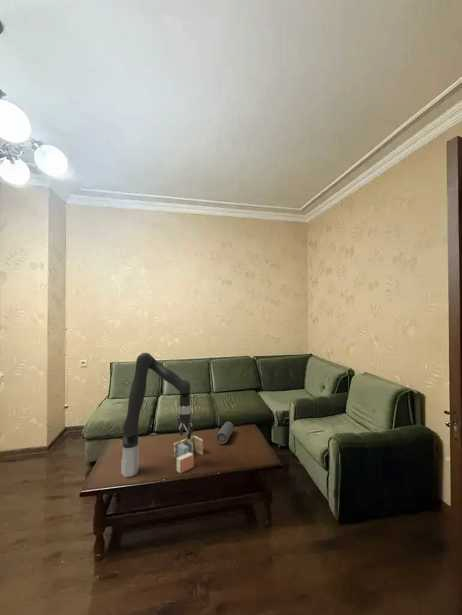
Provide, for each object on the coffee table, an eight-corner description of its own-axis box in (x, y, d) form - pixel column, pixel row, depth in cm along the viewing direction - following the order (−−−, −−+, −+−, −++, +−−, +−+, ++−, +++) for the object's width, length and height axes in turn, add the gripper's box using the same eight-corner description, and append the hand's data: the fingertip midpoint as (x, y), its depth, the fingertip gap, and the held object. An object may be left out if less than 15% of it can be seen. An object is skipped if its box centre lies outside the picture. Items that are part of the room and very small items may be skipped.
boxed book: (180, 473, 169) (180, 460, 169) (176, 470, 172) (176, 457, 172) (193, 467, 176) (193, 454, 176) (189, 464, 179) (189, 452, 179)
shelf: (182, 463, 180) (182, 448, 180) (173, 458, 187) (173, 443, 187) (203, 454, 192) (203, 439, 192) (194, 449, 199) (194, 435, 200)
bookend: (188, 458, 186) (188, 445, 186) (182, 455, 191) (182, 442, 191) (192, 456, 189) (192, 443, 189) (187, 453, 193) (187, 440, 194)
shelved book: (183, 461, 182) (183, 449, 182) (177, 457, 188) (177, 445, 188) (188, 459, 185) (188, 447, 185) (182, 455, 190) (182, 443, 191)
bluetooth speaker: (227, 446, 203) (227, 432, 204) (215, 445, 206) (215, 431, 206) (234, 433, 225) (234, 421, 226) (223, 432, 228) (223, 420, 228)
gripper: (174, 410, 180) (174, 435, 179) (186, 416, 170) (187, 442, 169) (183, 408, 185) (183, 432, 185) (196, 413, 175) (196, 438, 175)
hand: (185, 437), depth 177 cm, fingers open, 8 cm apart
